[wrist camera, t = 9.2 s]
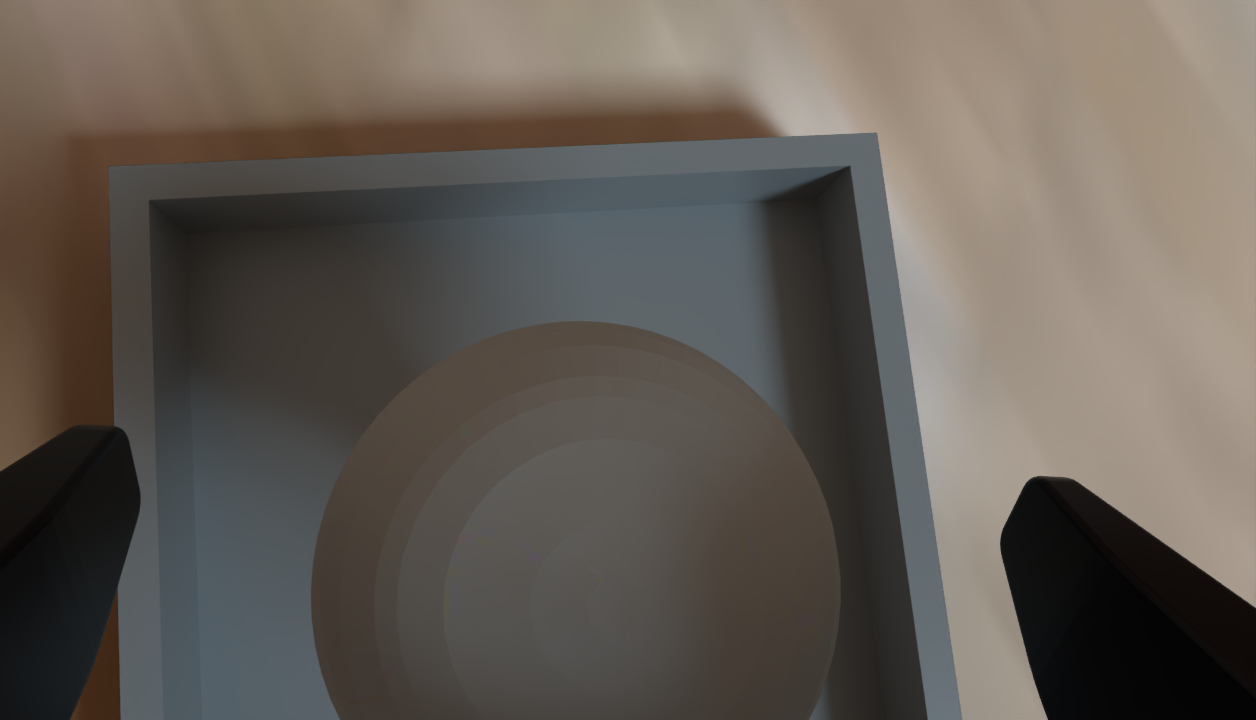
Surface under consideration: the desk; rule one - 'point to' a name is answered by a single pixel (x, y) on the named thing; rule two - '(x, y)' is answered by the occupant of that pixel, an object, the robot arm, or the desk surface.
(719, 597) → the light bulb
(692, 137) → the desk surface
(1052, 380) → the desk surface
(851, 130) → the desk surface
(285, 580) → the tray
